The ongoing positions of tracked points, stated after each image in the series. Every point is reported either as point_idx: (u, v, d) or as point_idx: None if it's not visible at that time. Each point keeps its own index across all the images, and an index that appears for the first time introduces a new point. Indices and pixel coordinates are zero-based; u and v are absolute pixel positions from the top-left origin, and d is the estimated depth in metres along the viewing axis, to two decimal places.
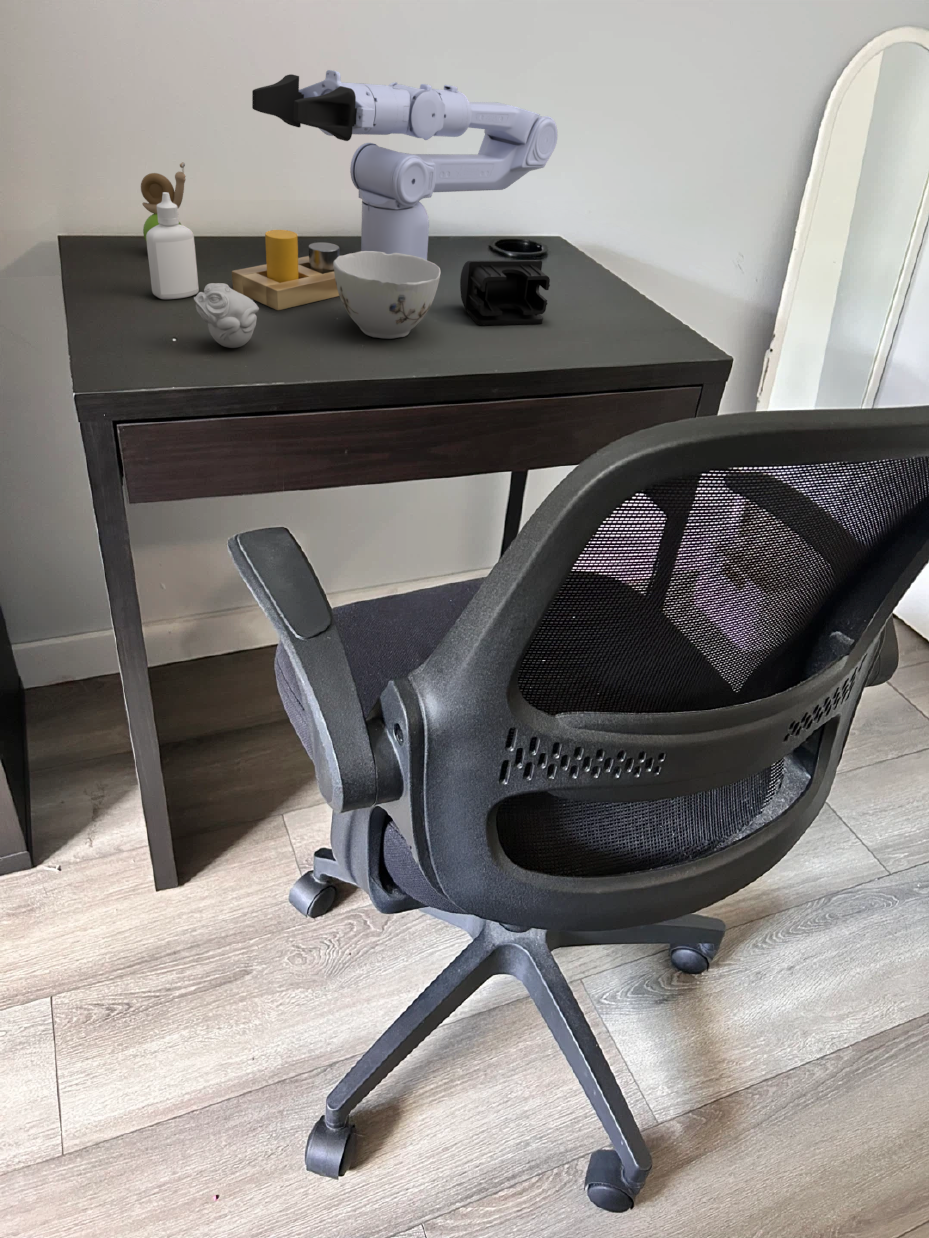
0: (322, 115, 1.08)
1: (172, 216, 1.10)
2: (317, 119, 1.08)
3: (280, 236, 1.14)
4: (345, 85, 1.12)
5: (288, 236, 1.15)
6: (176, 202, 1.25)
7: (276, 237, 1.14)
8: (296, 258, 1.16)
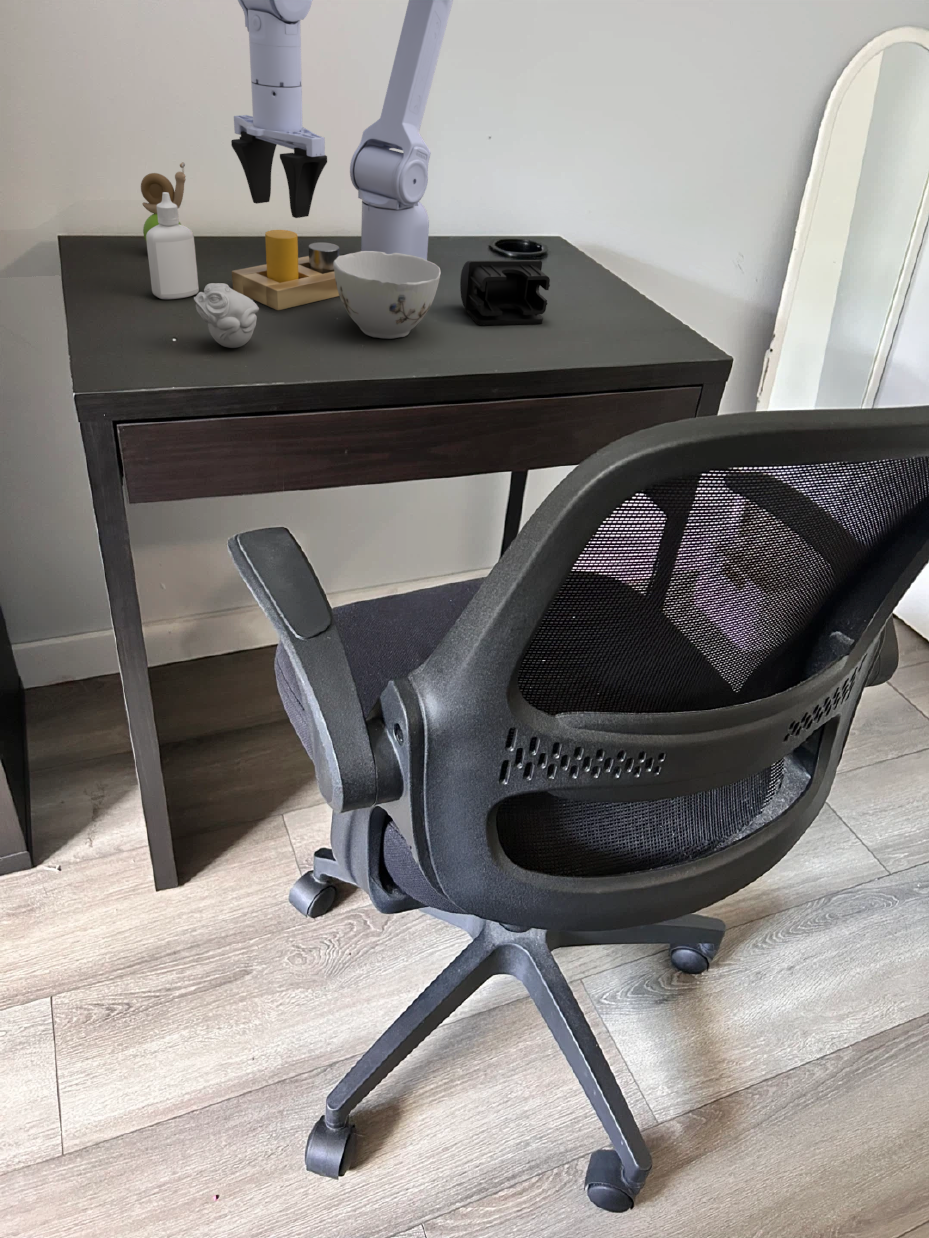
0: (304, 185, 1.09)
1: (172, 216, 1.10)
2: (307, 191, 1.10)
3: (280, 236, 1.14)
4: (265, 122, 1.05)
5: (288, 236, 1.15)
6: (176, 202, 1.25)
7: (276, 237, 1.14)
8: (296, 258, 1.16)
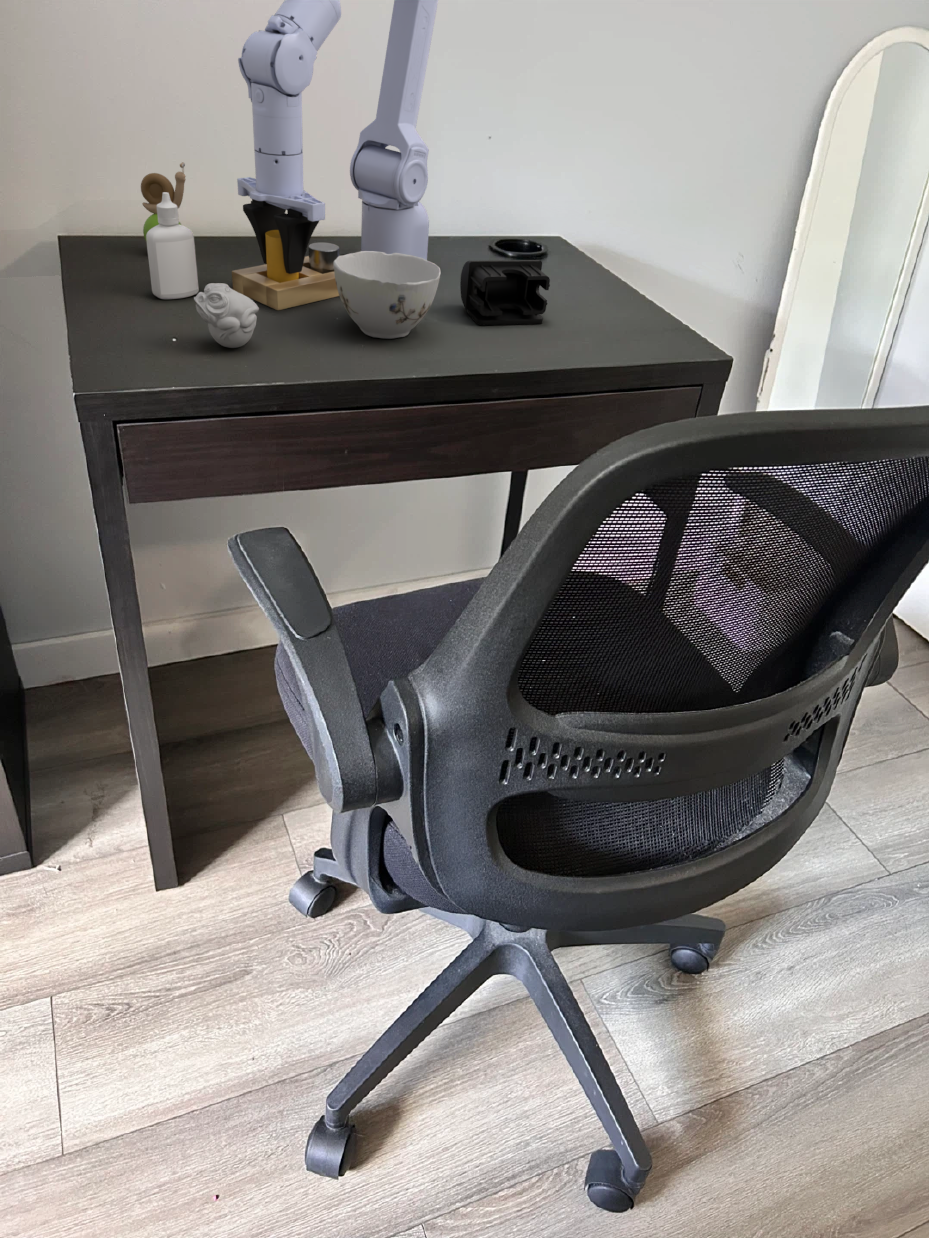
0: (297, 243, 1.14)
1: (172, 216, 1.10)
2: (300, 248, 1.15)
3: None
4: (267, 187, 1.10)
5: None
6: (176, 202, 1.25)
7: (276, 237, 1.14)
8: None
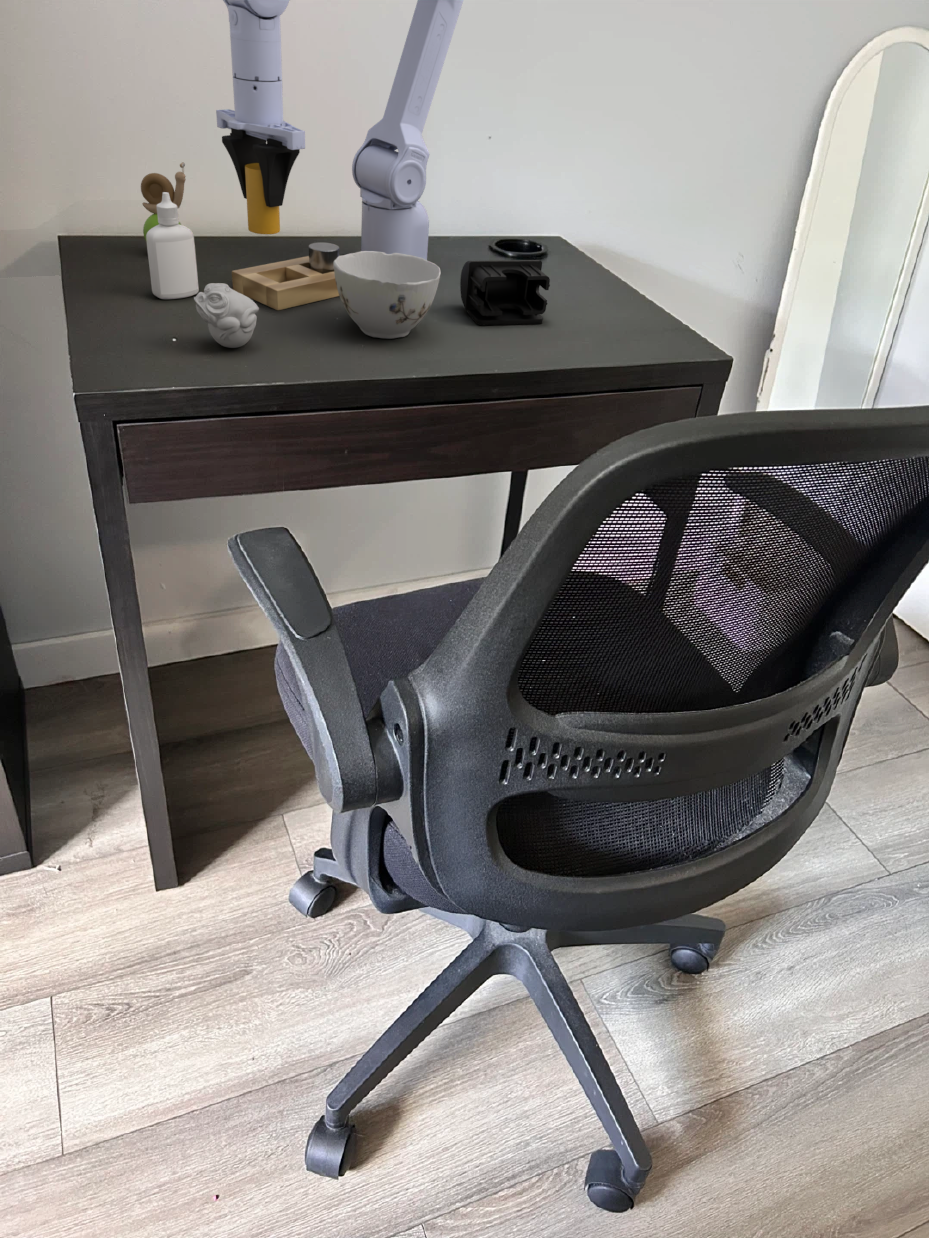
0: (277, 175, 1.12)
1: (172, 216, 1.10)
2: (280, 181, 1.13)
3: None
4: (246, 115, 1.08)
5: None
6: (176, 202, 1.25)
7: (256, 169, 1.12)
8: None
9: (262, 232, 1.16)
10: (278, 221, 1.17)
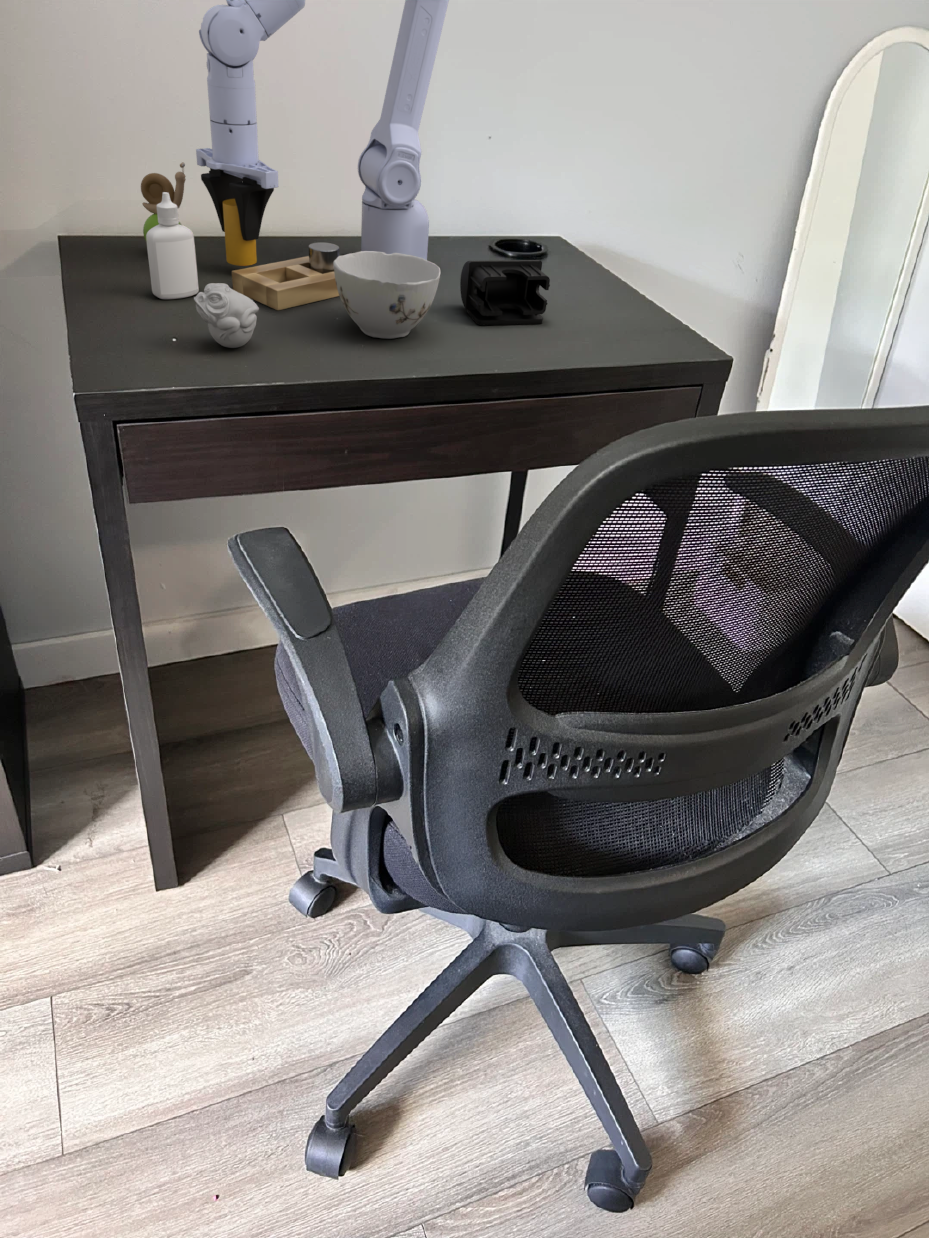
0: (253, 210, 1.19)
1: (172, 216, 1.10)
2: (256, 216, 1.20)
3: None
4: (223, 156, 1.14)
5: None
6: (176, 202, 1.25)
7: (233, 205, 1.19)
8: None
9: (239, 264, 1.23)
10: (254, 253, 1.23)
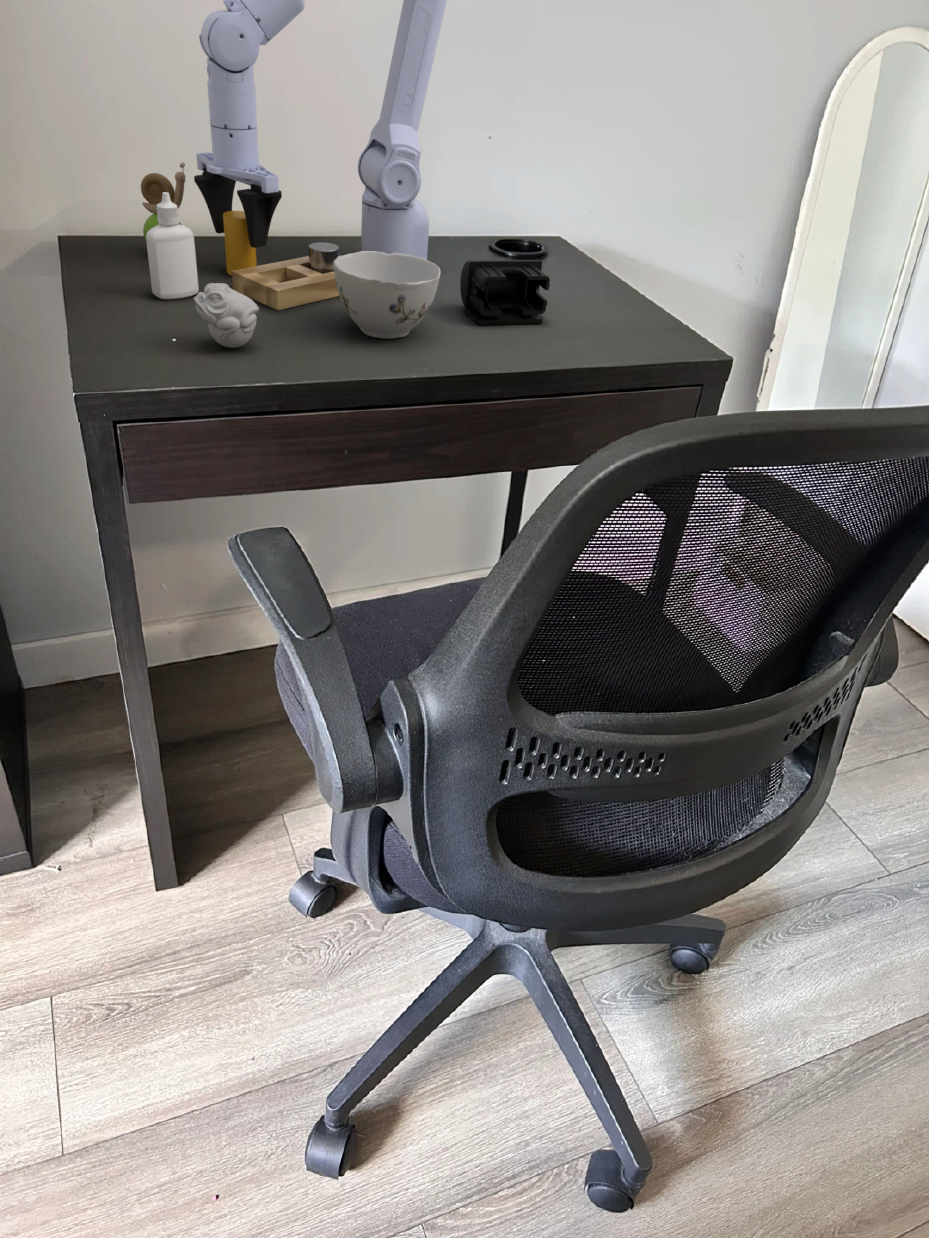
0: (260, 217, 1.19)
1: (172, 216, 1.10)
2: (264, 223, 1.19)
3: (237, 216, 1.20)
4: (223, 161, 1.15)
5: None
6: (176, 202, 1.25)
7: (233, 218, 1.19)
8: None
9: None
10: (255, 264, 1.24)
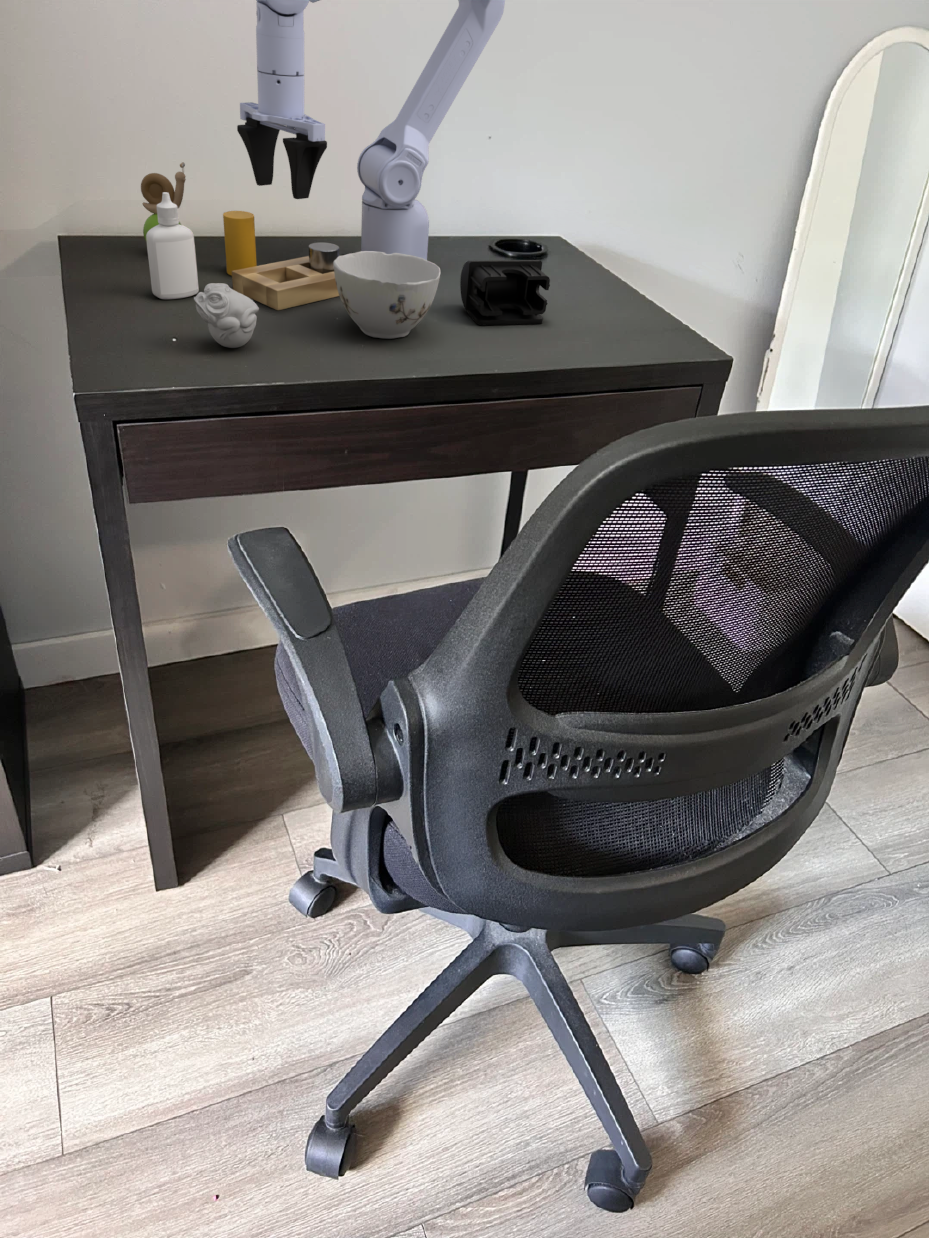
0: (305, 168, 1.17)
1: (172, 216, 1.10)
2: (307, 174, 1.18)
3: (237, 216, 1.20)
4: (269, 108, 1.13)
5: (245, 216, 1.20)
6: (176, 202, 1.25)
7: (233, 218, 1.19)
8: (252, 237, 1.22)
9: None
10: (255, 264, 1.24)
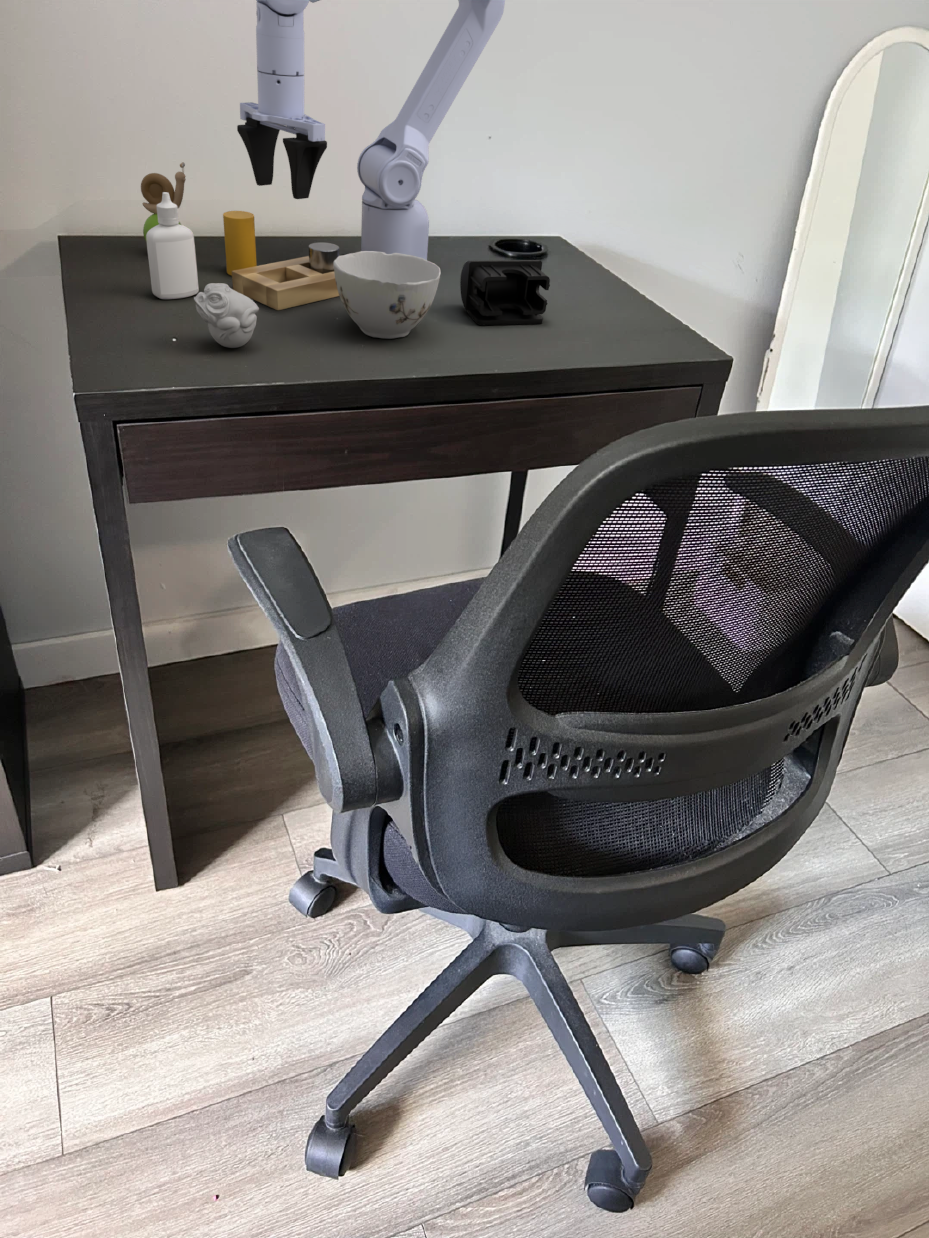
0: (305, 168, 1.17)
1: (172, 216, 1.10)
2: (307, 174, 1.18)
3: (237, 216, 1.20)
4: (269, 108, 1.13)
5: (245, 216, 1.20)
6: (176, 202, 1.25)
7: (233, 218, 1.19)
8: (252, 237, 1.22)
9: None
10: (255, 264, 1.24)
